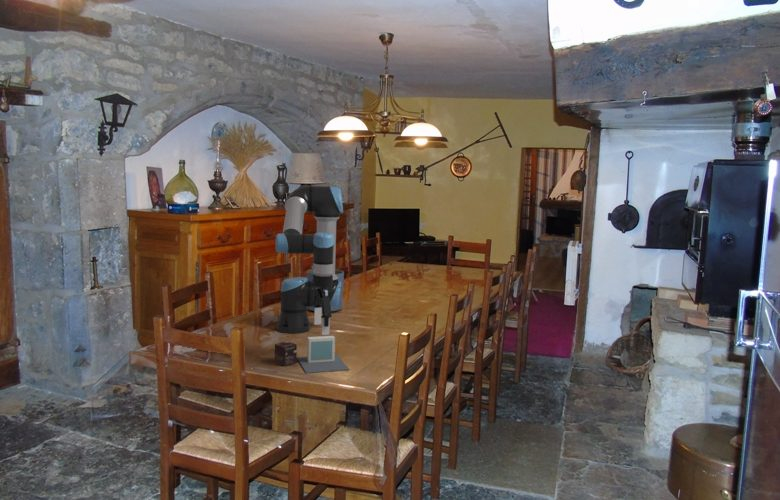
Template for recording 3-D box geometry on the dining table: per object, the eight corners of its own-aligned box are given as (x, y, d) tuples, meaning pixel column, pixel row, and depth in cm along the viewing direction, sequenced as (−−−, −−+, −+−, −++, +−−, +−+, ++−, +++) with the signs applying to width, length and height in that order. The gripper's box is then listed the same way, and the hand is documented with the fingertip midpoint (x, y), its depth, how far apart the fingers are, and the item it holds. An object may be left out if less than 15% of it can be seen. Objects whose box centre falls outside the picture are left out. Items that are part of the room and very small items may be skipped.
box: (284, 366, 228) (284, 347, 227) (273, 362, 232) (274, 343, 231) (296, 363, 233) (297, 344, 232) (286, 359, 237) (286, 340, 236)
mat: (297, 358, 239) (297, 357, 238) (337, 355, 244) (337, 354, 244) (306, 373, 222) (306, 372, 222) (349, 370, 227) (349, 369, 227)
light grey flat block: (307, 360, 235) (307, 337, 234) (332, 358, 239) (333, 335, 237) (308, 362, 232) (309, 339, 231) (334, 360, 236) (335, 338, 234)
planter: (323, 316, 306) (324, 276, 303) (298, 309, 318) (298, 270, 316) (350, 310, 320) (351, 272, 317) (325, 303, 332) (326, 267, 330)
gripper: (306, 268, 241) (305, 320, 245) (320, 281, 218) (318, 339, 221) (325, 267, 244) (323, 319, 247) (340, 280, 220) (339, 338, 224)
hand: (321, 329), depth 234 cm, fingers open, 13 cm apart
